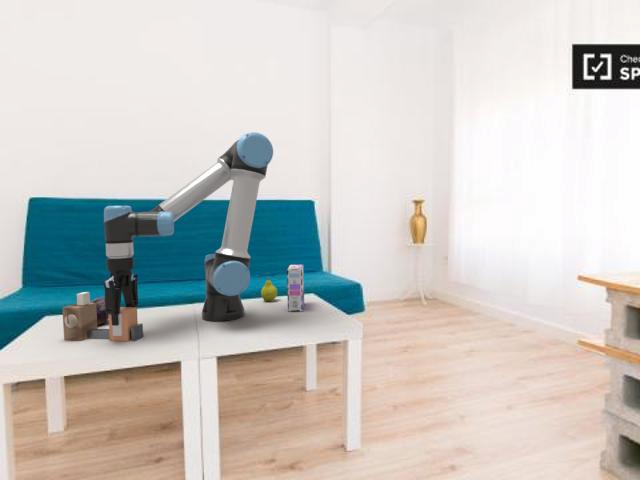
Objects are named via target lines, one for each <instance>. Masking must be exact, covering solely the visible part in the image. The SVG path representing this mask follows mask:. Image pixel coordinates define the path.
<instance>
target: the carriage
mask: <svg viewBox="0 0 640 480" xmlns="http://www.w3.org/2000/svg"><path fill="white" fill-rule="evenodd" d="M119 314H122V330H123V335H122V336H113V328H112V319H111V315H109V314H108V315H109V319H108V329H109V334H110V339H109V341H114V342H115V341H117V342H130V341H131V340H130V331H131V327H133V326H136V325H138V324H139V323H138V322H139V321H138V306H137V307H126V306H120V313H119Z"/></svg>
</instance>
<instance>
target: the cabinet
mask: <svg viewBox="0 0 640 480" xmlns="http://www.w3.org/2000/svg"><path fill="white" fill-rule="evenodd" d="M62 325H63V327H62V328H63V339H64V341H78V342H79V341H85V340H87V339H88V338H87V330H90V329H92V328H94V329H99V328H98V325H97V310H96V303H90V304H86V305H77V302H76V303H72V304H70V305H66V306H62Z"/></svg>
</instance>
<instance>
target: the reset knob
mask: <svg viewBox="0 0 640 480" xmlns="http://www.w3.org/2000/svg"><path fill="white" fill-rule="evenodd" d="M90 296H91V295H90V291H85V292H83V291H82V292H80V293H76V303H77V305H86V304H90V302H91V297H90Z"/></svg>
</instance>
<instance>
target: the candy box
mask: <svg viewBox="0 0 640 480" xmlns="http://www.w3.org/2000/svg"><path fill="white" fill-rule="evenodd" d="M286 273H287V274H286V278H287V279H286V280H287V281H286V285H287V287H286V288H287V289H286V290H287V292H286V294H287V312H303V311H304V306H305V283H304V282H305V277H304V275H305V274H304V264H290V265H289V266H288V268H287V269H286Z"/></svg>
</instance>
